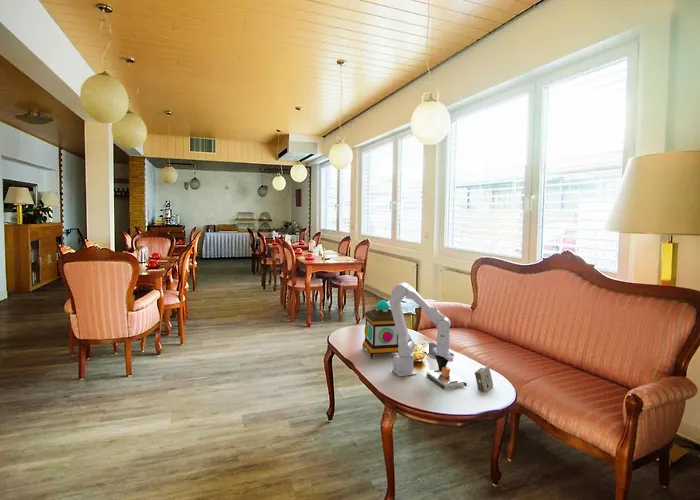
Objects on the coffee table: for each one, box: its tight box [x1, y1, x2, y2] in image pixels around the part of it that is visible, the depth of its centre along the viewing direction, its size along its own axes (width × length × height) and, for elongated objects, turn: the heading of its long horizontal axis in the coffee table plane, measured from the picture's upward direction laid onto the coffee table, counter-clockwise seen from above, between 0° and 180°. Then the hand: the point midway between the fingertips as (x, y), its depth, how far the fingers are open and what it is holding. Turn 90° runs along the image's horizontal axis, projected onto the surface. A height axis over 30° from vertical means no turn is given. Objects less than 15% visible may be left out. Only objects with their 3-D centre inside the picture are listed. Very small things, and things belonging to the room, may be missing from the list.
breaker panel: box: [426, 368, 465, 390], centre depth 191 cm, size 10×16×3 cm, turn 20°
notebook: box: [421, 342, 455, 359], centre depth 233 cm, size 13×2×21 cm
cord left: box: [425, 373, 445, 390], centre depth 190 cm, size 14×1×1 cm, turn 20°
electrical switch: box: [474, 365, 494, 393], centre depth 185 cm, size 9×5×9 cm, turn 141°
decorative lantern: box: [362, 299, 399, 360], centre depth 227 cm, size 20×20×30 cm
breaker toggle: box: [442, 365, 451, 378], centre depth 191 cm, size 2×3×4 cm
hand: (441, 371), depth 194 cm, fingers closed
